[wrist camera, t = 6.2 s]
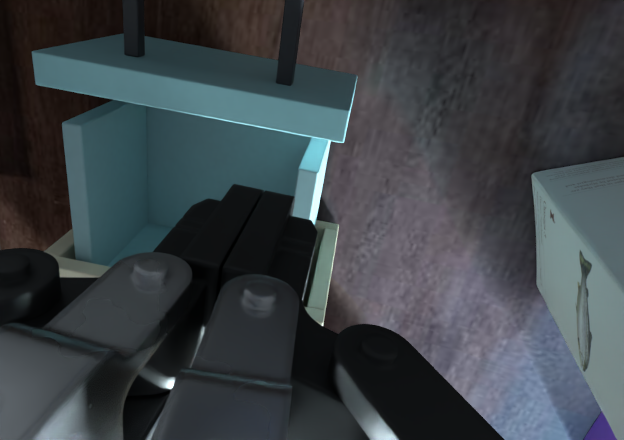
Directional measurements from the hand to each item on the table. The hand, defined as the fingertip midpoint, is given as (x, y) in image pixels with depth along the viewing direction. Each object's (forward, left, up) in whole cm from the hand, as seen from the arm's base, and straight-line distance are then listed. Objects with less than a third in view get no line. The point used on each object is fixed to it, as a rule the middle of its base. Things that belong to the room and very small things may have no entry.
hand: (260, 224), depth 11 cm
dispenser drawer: (+1, -4, -13) cm, 14 cm away
